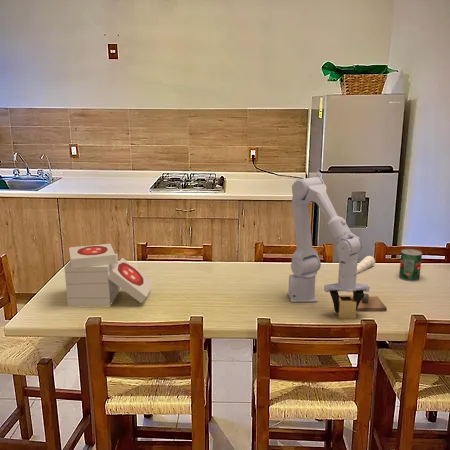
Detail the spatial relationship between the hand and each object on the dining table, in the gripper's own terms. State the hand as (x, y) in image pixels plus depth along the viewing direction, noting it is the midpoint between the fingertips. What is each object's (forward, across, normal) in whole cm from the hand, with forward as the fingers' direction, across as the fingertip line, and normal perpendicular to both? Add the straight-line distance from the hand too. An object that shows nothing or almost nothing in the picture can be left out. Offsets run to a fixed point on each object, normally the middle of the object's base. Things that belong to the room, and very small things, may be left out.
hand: (345, 311), depth 163 cm
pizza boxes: (+2, -82, +16) cm, 84 cm away
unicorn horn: (+2, +17, +43) cm, 46 cm away
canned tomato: (+2, +35, +35) cm, 50 cm away
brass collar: (+1, 0, 0) cm, 1 cm away
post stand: (+1, +9, +8) cm, 12 cm away
